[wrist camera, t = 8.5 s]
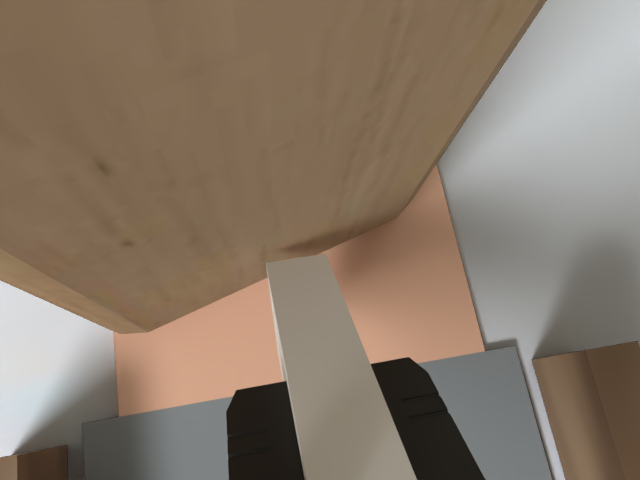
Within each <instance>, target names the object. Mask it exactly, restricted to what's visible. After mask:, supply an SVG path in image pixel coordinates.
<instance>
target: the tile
mask: <svg viewBox="0 0 640 480" xmlns="http://www.w3.org/2000/svg"><path fill="white" fill-rule="evenodd" d="M321 254H326V255H327V258H328V260H329V263H330V265H331V268H332V270H333V272H334V275H335V277H336V280H337V282H338V285H339V287H340V290H341V292H342V295H343V297H344V300H345V302H346V305H347V307H348V310H349V312H350V315H351V317H352V320H353V322H354V325H355V327H356V330H357V332H358V335H359V337H360V339H361V342H362V344H363V347H364V349H365V352H366V354H367V357H368V359H369V362H370V364H373V363H378V362H384V361H389V360H395V359H400V358H406V357H410V358H411V359H412V360H413V361H415V362H416V363H422V362H428V361H433V360H439V359H444V358H450V357H456V356H461V355H467V354H472V353H478V352H483V351H485V349H484V345H483V341H482V337H481V333H480V329H479V326H478V322H477V318H476V314H475V310H474V306H473V302H472V299H471V295H470V291H469V287H468V283H467V279H466V275H465V272H464V268H463V264H462V260H461V256H460V252H459V248H458V245H457V241H456V237H455V233H454V229H453V225H452V221H451V218H450V214H449V210H448V206H447V202H446V198H445V195H444V191H443V187H442V183H441V179H440V175H439V171H438V168H437V164H436V165H435V167H434V168H433V170H432V171H431V173H430V174H429V176H428V177H427V179H426V180H425V182H424V183H423V185H422V186H421V187H420V189H419V190H418V192H417V193H416V195H415V196H414V198H413V199H412V201H411V202H410V203H409V204H408V206H407V207H406V208H405V209H404V210H403V211H402V212H401V213H400V215H399V216H398V217H397V218H396V219H394V220H392V221H389V222H387V223H385V224H383V225H381V226H379V227H376V228H374V229H372V230H370V231H368V232H365V233H363V234H361V235H359V236H357V237H355V238H352V239H350V240H348V241H346V242H344V243H342V244H339V245H337V246H335V247H333V248H331V249H329V250H326V251H324V252H322V253H320V254H318V255H321ZM113 332H114V331H113ZM114 348H115V364H116V379H117V395H118V411H119V417H121V416H126V415H132V414H137V413H143V412H149V411H154V410H160V409H165V408H171V407H177V406H182V405H188V404H193V403H199V402H204V401H210V400H216V399H221V398H227V397H232V396H234V394H235V391H236V390H239V389H245V388H250V387H256V386H261V385H267V384H272V383H278V382H283V378H282V373H281V367H280V361H279V356H278V350H277V343H276V335H275V328H274V320H273V313H272V306H271V298H270V291H269V283H268V278H266V279H263V280H261V281H259V282H257V283H255V284H252V285H250V286H248V287H246V288H244V289H242V290H239V291H237V292H235V293H233V294H231V295H229V296H226V297H224V298H222V299H220V300H218V301H216V302H213V303H211V304H209V305H207V306H205V307H203V308H200V309H198V310H196V311H194V312H192V313H189V314H187V315H185V316H183V317H181V318H179V319H176V320H174V321H172V322H170V323H168V324H166V325H163V326H161V327H159V328H157V329H155V330H153V331H150V332H147V333H130V334H119V333H116V332H114Z"/></svg>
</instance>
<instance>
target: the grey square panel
mask: <svg viewBox="0 0 640 480" xmlns="http://www.w3.org/2000/svg"><path fill="white" fill-rule="evenodd" d="M417 364H418V365H420V366H421V367H422V368H423V369H424V370H426V371H427V372H428V373H429V375H430V377H431V379H432V381H433V383H434V385H435V386H436V388H437V390H438V392H439V396H441V398H442V399H443V401H444V403H445V405H446V407H447V409H448V413H450V414H451V416H452V418H453V420H454V422H455V424H456V426H457V427H458V429H459V431H460V433H461V435H462V437H463V439H464V441H465V442H466V444H467V446H468V448H469V450H470V452H471V454H472V455H473V457H474V459H475V461H476V463H477V465H478V467H479V469H480V470H481V472H482V474H483V476H484V478H485V479H486V480H552V477H551V473H550V470H549V466H548V462H547V459H546V455H545V452H544V448H543V444H542V441H541V437H540V434H539V430H538V426H537V423H536V419H535V415H534V412H533V408H532V405H531V401H530V397H529V394H528V390H527V386H526V383H525V379H524V376H523V372H522V368H521V365H520V361H519V357H518V354H517V350H516V347H515V346H511V347H506V348H500V349H495V350H489V351H483V352H478V353H472V354H467V355H461V356H456V357H450V358H444V359H439V360H433V361H428V362H422V363H417ZM232 398H233V396H232V397H227V398H221V399H216V400H210V401H204V402H199V403H193V404H188V405H182V406H177V407H171V408H165V409H160V410H154V411H149V412H143V413H137V414H132V415H126V416H121V417H115V418H110V419H104V420H98V421H93V422H87V423H82V432H83V454H84V477H85V480H229V471H228V446H227V440H228V438H227V420H226V411H227V409H228V407H229V405H230V402H231V400H232Z"/></svg>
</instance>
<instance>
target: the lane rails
mask: <svg viewBox="0 0 640 480" xmlns="http://www.w3.org/2000/svg"><path fill="white" fill-rule="evenodd" d="M532 362H533V366H534V369H535V373H536V376H537V380H538V384H539V387H540V391H541V394H542V398H543V401H544V405H545V408H546V412H547V415H548V419H549V422H550V426H551V430H552V433H553V437H554V440H555V444H556V447H557V451H558V454H559V458H560V461H561V465H562V468H563V472H564V476H565V479H566V480H640V347H639V344H638V341H634V342H629V343H623V344H617V345H611V346H605V347H600V348H594V349H588V350H582V351H577V352H571V353H566V354H560V355H555V356H549V357H544V358H538V359H533V360H532ZM0 480H68V463H67V445H65V446H59V447H54V448H48V449H43V450H37V451H32V452H27V453H21V454H16V455H10V456H5V457H0Z"/></svg>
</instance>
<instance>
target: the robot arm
mask: <svg viewBox="0 0 640 480" xmlns="http://www.w3.org/2000/svg"><path fill="white" fill-rule="evenodd" d="M266 269H267V276H268V283H269V291H270V298H271V306H272V313H273V320H274V328H275V335H276V343H277V350H278V356H279V361H280V367H281V373H282V378H283V382H278V383H272V384H267V385H261V386H256V387H250V388H245V389H239V390H236V391H235V394H234V396H233V398H232V400H231V402H230V405H229V407H228V409H227V411H226V420H227V438H228V440H227V446H228V471H229V480H486V479H485V478H484V476H483V474H482V472H481V470H480V469H479V467H478V465H477V463H476V461H475V459H474V457H473V455H472V454H471V452H470V450H469V448H468V446H467V444H466V442H465V441H464V439H463V437H462V435H461V433H460V431H459V429H458V427H457V426H456V424H455V422H454V420H453V418H452V416H451V414H450V413H448V409H447V407H446V405H445V403H444V401H443V399H442V398H441V396H439V392H438V390H437V388H436V386H435V385H434V383H433V381H432V379H431V377H430V375H429V373H428V372H427V371H426V370H424V369H423V368H422V367H421V366H420V365H418V364H417V363H416V362H415V361H413V360H412V359H411V358H410V357H406V358H400V359H395V360H389V361H384V362H378V363H373V364H370V362H369V359H368V357H367V354H366V352H365V349H364V347H363V344H362V342H361V339H360V337H359V335H358V332H357V330H356V327H355V325H354V322H353V320H352V317H351V315H350V312H349V310H348V307H347V305H346V302H345V300H344V297H343V295H342V292H341V290H340V287H339V285H338V282H337V280H336V277H335V275H334V272H333V270H332V268H331V265H330V263H329V260H328V258H327V255H326V254H321V255H314V256H308V257H301V258H295V259H288V260H282V261H275V262H268V263H266Z"/></svg>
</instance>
